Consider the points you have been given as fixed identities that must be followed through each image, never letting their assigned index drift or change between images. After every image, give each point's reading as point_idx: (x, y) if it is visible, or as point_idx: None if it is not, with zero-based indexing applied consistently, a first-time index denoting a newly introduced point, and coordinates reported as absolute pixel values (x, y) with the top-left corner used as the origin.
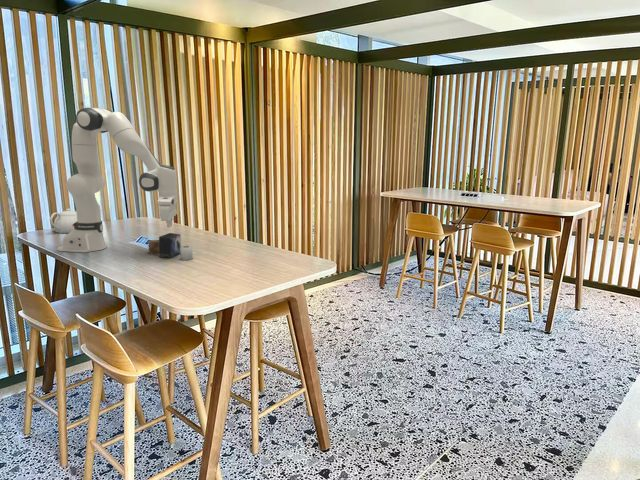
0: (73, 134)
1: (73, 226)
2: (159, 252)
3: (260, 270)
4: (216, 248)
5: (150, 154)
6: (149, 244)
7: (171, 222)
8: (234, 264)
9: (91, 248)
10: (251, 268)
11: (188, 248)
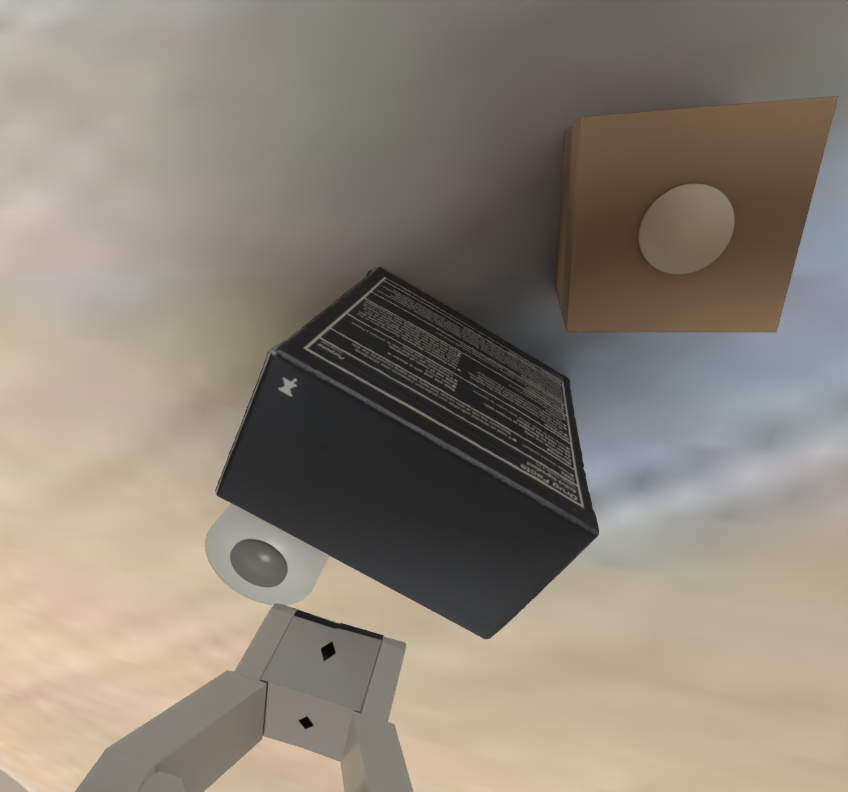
0: None
1: None
2: (360, 282)
3: (89, 729)
4: (612, 715)
5: None
6: (578, 138)
7: (344, 780)
8: (177, 682)
9: None
10: (115, 715)
11: (215, 568)
